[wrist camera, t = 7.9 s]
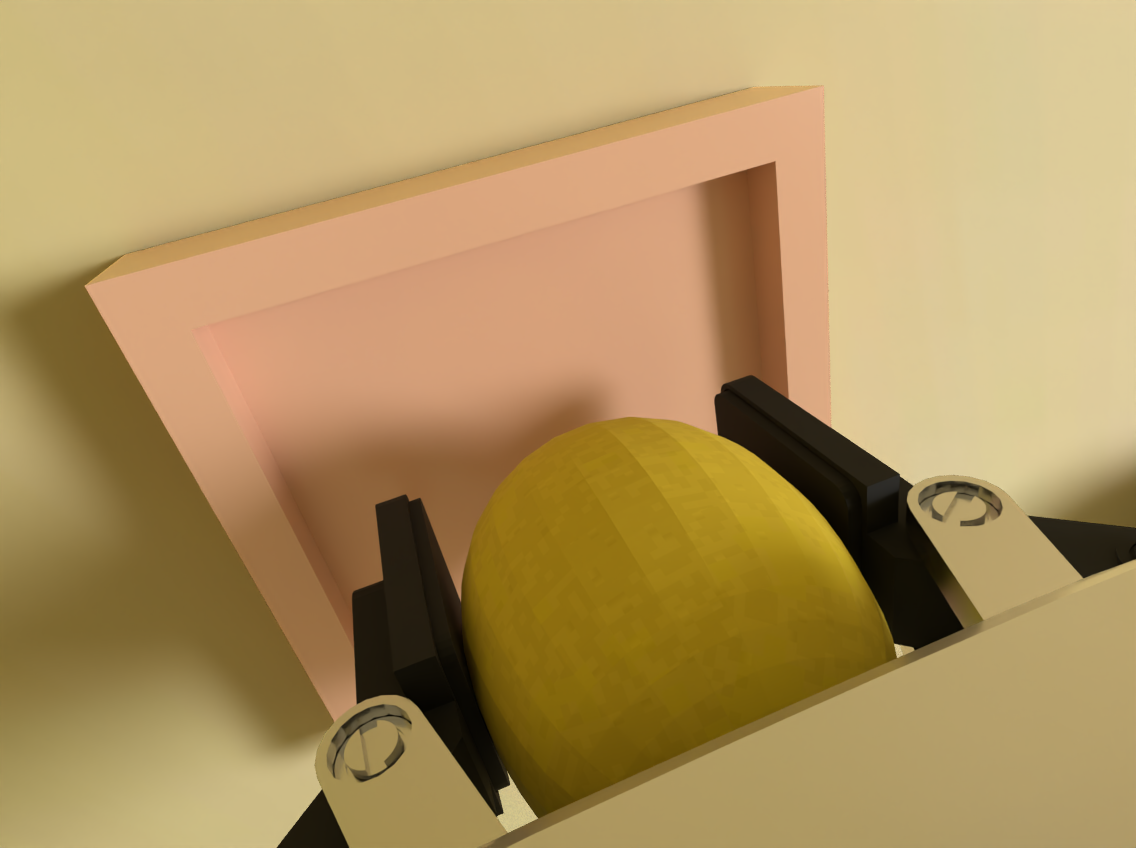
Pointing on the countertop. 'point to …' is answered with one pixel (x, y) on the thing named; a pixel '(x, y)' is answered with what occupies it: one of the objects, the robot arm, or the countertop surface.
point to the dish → (474, 333)
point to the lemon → (650, 604)
